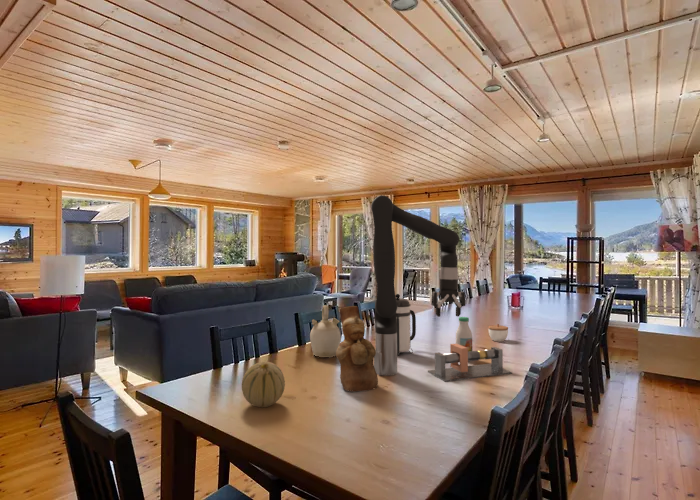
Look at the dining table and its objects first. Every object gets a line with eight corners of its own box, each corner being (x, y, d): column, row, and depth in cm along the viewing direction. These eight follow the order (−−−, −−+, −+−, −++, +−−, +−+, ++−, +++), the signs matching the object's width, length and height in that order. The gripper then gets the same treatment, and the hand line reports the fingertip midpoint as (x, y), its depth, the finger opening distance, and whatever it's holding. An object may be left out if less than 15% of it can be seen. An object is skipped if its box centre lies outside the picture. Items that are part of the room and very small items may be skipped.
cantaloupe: (266, 394, 152) (266, 353, 152) (294, 403, 143) (293, 360, 143) (232, 406, 141) (231, 362, 141) (259, 417, 131) (259, 370, 131)
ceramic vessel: (343, 395, 151) (342, 312, 151) (330, 377, 172) (329, 304, 172) (384, 390, 155) (383, 310, 155) (366, 373, 176) (365, 303, 176)
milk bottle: (454, 360, 196) (453, 318, 196) (457, 356, 203) (457, 315, 203) (470, 362, 192) (470, 319, 192) (474, 358, 199) (473, 316, 199)
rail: (444, 381, 165) (444, 358, 165) (427, 371, 178) (427, 350, 178) (511, 373, 175) (511, 351, 175) (490, 364, 188) (490, 344, 188)
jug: (342, 351, 215) (341, 303, 215) (338, 359, 200) (338, 307, 200) (313, 350, 217) (312, 302, 217) (307, 358, 201) (306, 307, 201)
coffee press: (414, 357, 202) (413, 295, 202) (381, 355, 205) (381, 295, 205) (416, 348, 219) (415, 291, 219) (385, 347, 222) (385, 291, 222)
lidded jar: (484, 339, 239) (484, 323, 239) (498, 337, 244) (498, 321, 244) (498, 343, 230) (497, 326, 230) (512, 341, 234) (512, 324, 234)
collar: (461, 372, 170) (461, 348, 170) (450, 366, 178) (450, 344, 178) (467, 371, 171) (467, 347, 171) (456, 365, 179) (456, 343, 179)
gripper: (436, 278, 170) (435, 318, 170) (468, 278, 173) (467, 317, 173) (429, 277, 178) (428, 315, 178) (460, 277, 180) (459, 314, 180)
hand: (448, 316), depth 175 cm, fingers open, 8 cm apart
